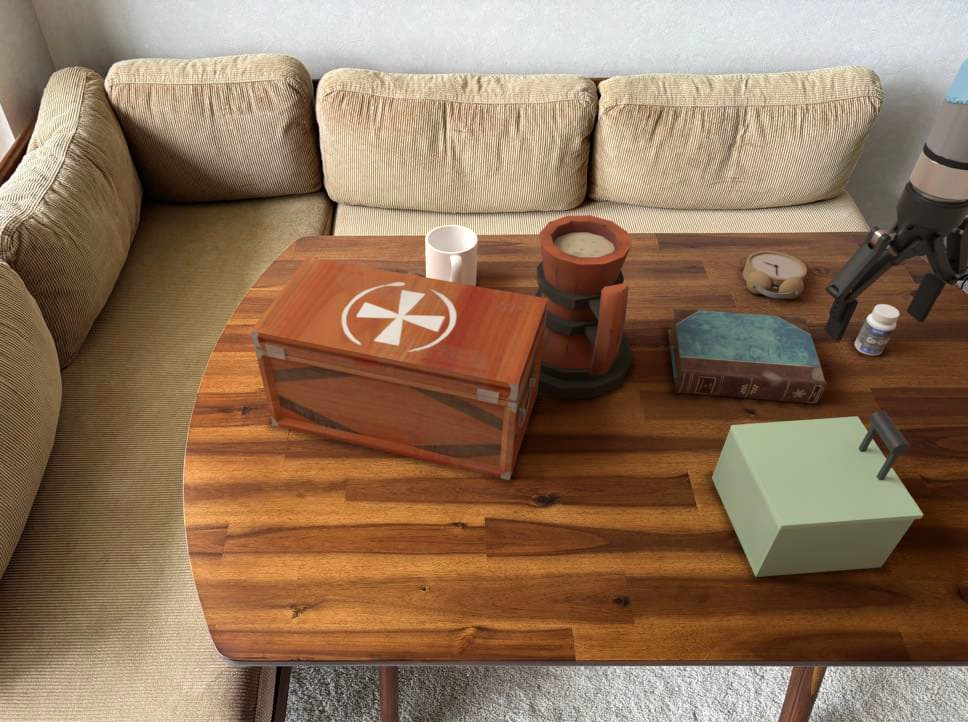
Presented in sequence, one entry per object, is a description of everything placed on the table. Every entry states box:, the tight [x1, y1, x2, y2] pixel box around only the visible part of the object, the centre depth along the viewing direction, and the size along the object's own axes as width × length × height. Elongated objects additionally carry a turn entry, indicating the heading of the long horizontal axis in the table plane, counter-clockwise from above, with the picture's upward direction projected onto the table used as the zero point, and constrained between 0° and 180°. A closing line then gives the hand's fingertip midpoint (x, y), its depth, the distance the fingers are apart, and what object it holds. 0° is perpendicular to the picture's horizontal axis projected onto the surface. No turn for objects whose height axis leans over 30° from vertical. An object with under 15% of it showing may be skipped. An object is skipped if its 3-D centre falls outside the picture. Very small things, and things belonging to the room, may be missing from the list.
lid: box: [729, 410, 924, 529], centre depth 101 cm, size 18×18×8 cm
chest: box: [711, 429, 916, 578], centre depth 107 cm, size 18×18×11 cm
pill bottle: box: [854, 303, 901, 357], centre depth 135 cm, size 5×5×8 cm
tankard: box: [534, 214, 633, 400], centre depth 128 cm, size 22×25×25 cm
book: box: [667, 308, 828, 405], centre depth 133 cm, size 23×18×5 cm
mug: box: [424, 224, 478, 286], centre depth 150 cm, size 13×10×10 cm
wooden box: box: [250, 256, 548, 481], centre depth 122 cm, size 20×41×20 cm, turn 72°
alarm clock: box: [742, 250, 808, 300], centre depth 150 cm, size 11×5×15 cm
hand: (874, 325), depth 108 cm, fingers open, 13 cm apart
